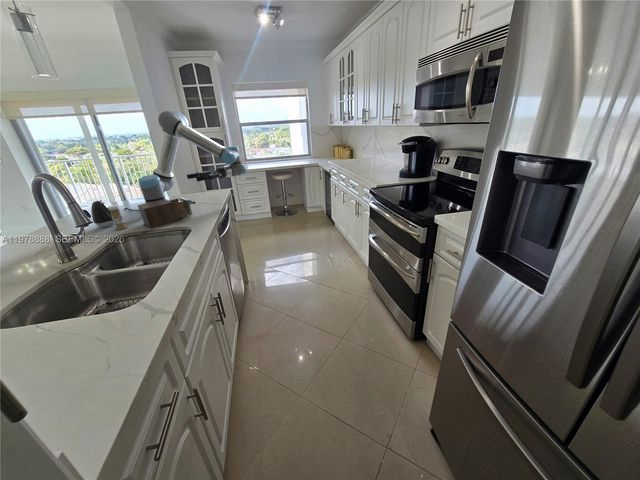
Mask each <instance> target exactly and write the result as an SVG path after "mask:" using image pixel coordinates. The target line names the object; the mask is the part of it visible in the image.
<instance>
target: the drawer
mask: <svg viewBox="0 0 640 480" xmlns="http://www.w3.org/2000/svg"><path fill="white" fill-rule="evenodd" d="M168 201H171V202H173V206H174V209H175V212H176V215H177V219H178V220H179V219H181V218H184V217H188V216H190V217H191V216H193V215H194V214H193V211H192V207H191V205H192V204H193V205H196V201H194V200H192V199H188V198H184V197H182V196H180V197H179V198H174V199H173V198H172V199H169V200H168Z"/></svg>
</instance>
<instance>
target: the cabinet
mask: <svg viewBox="0 0 640 480" xmlns="http://www.w3.org/2000/svg"><path fill="white" fill-rule="evenodd" d="M137 207H138V208H137V209H138V210H140V211H139V213H140V215H141V219H142V221H143V223H144V225H145V226H147V227H148V228H149V229H155V228H159V227H162V226H166V225H169V224H172V223H176V222H179V218H178V219H177V215H176V212H175V209H174V206H173V202H171V201H169V200H168V199H167V198H166V199H163V200H158V201H154V202H149V203H146V202H145V203H140V204H137Z"/></svg>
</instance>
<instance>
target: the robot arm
mask: <svg viewBox="0 0 640 480" xmlns="http://www.w3.org/2000/svg"><path fill="white" fill-rule="evenodd" d="M157 121H158V125H159V126H160V127H161V130H162V132H163V133H164V134H163V139H162V142H161V143H162V144H161V148H160V152H159V158H158V162H157V167H156V168H154V169H153V171H152V174H148V175H144V176H141V177H140V178H138V186H139V188H140V191H141V194H142V196H143V199H144V202H145V203H149V202H154V201H158V200H163V199H166V200H167V198H166V195H165V192H168V191H169V190H171V189H172V188H173V187H174V184H175V183H174V182H175V181H174V179H173V178H174V174H173V172H172V171H173V167H174V165H175V164H174V163H175V159H176V156H177V151H178V146H179V143H180V139H183V140H185V141H187V142H189V143H191V144H193V145H194V146H196V147H198V148H200V149H202V150H203V151H205V152H207V153H208V154H210V155H212V156H215V158H218V159H219V160H222V162H223V163H224V164H226V165H223V166H217V167H216V168H215V170H207V171H198V172H195V173H189V174H186V178H187V180H191V179H196V182H198V183H199V182H202V181H208V180H211V181H212V180H215V179H220V180H222V179H226V178H227V179H230V178H232V177H236V176H241V175H245V174H246V172H247V168H246V165H245V163H242V162H241V155H240V149H239V147H238V146H237V145H228V146H226V147H225V146H224V145H223V146H222V145H221V144H220V143H217V142H216V141H214V140H212V139H211V138H209V137H208V136H205V135H204V134H202V133H200V132H198V131H197V130H195V129H193V128H191V127H189V122H188V119H187V117H186V116H185V115H184V114H182V113H181V112H178V111H175V110H174V111H172V110H170V111H169V110H165V111H162V112H160V113H159V115H158V118H157ZM126 210H128V211H131V212H133V211H134V212H140V210H139V209H131V208H129V207H125V208H124V209H123V211H126Z"/></svg>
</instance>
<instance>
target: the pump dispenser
mask: <svg viewBox="0 0 640 480" xmlns="http://www.w3.org/2000/svg"><path fill="white" fill-rule="evenodd" d="M90 209H91V211H90V212H91V218H92V221H93V223H94V224H95V225H96V226H98V227H99V228H108V227H111V226H114V225H115V223H114V221H113V219H112V216H111V213H110V211H109V210H108V205H107V204H106V203H105V202H104V201H103V199H100V200H95V201H93V202H92V203H91V208H90Z"/></svg>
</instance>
